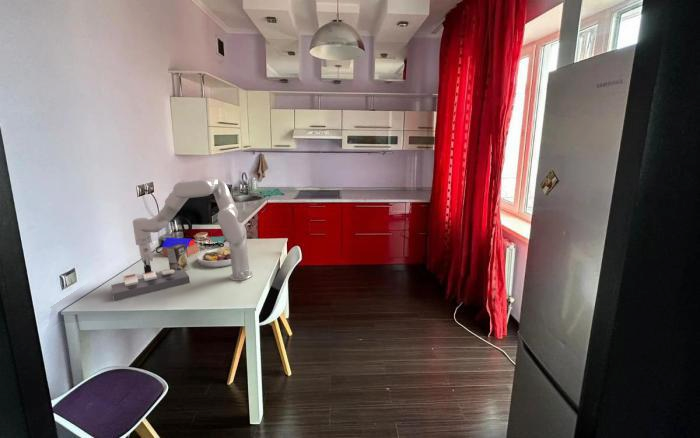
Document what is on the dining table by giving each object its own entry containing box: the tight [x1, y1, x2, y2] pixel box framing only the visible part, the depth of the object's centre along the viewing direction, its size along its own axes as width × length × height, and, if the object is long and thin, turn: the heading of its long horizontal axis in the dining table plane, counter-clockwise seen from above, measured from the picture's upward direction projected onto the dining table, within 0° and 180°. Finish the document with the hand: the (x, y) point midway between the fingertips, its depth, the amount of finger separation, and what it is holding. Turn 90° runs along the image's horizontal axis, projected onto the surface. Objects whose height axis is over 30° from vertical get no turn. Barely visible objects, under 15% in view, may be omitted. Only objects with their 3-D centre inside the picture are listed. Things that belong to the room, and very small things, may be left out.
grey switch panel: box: [111, 269, 191, 302], centre depth 201 cm, size 14×36×4 cm, turn 125°
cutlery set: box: [209, 235, 227, 250], centre depth 280 cm, size 20×30×2 cm, turn 6°
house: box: [161, 237, 199, 258], centre depth 256 cm, size 12×20×12 cm, turn 76°
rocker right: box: [160, 269, 175, 276], centre depth 207 cm, size 8×6×2 cm
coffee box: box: [167, 244, 190, 272], centre depth 222 cm, size 9×6×16 cm
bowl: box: [197, 246, 231, 268], centre depth 241 cm, size 30×30×8 cm
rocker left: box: [122, 273, 139, 286], centre depth 197 cm, size 8×6×2 cm
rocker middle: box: [142, 270, 158, 281], centre depth 202 cm, size 8×6×2 cm
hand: (148, 272), depth 205 cm, fingers closed
